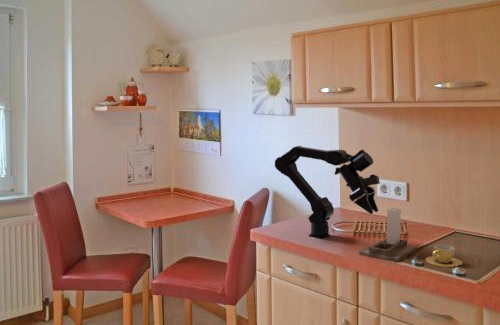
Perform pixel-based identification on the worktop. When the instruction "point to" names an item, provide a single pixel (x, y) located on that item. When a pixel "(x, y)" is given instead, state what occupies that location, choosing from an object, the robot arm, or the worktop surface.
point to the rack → (388, 250)
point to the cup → (443, 256)
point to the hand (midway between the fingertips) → (374, 212)
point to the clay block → (393, 226)
